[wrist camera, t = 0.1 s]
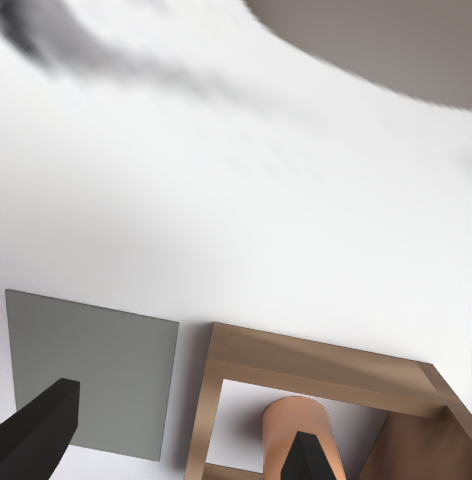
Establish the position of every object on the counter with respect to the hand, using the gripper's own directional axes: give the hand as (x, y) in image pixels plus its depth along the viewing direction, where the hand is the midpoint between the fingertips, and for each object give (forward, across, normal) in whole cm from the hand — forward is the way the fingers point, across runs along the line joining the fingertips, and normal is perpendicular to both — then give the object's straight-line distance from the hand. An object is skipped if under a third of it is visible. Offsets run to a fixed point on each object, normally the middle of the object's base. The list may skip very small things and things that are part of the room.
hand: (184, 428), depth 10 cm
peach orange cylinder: (+10, -8, +10) cm, 17 cm away
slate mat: (+10, +8, +11) cm, 17 cm away
